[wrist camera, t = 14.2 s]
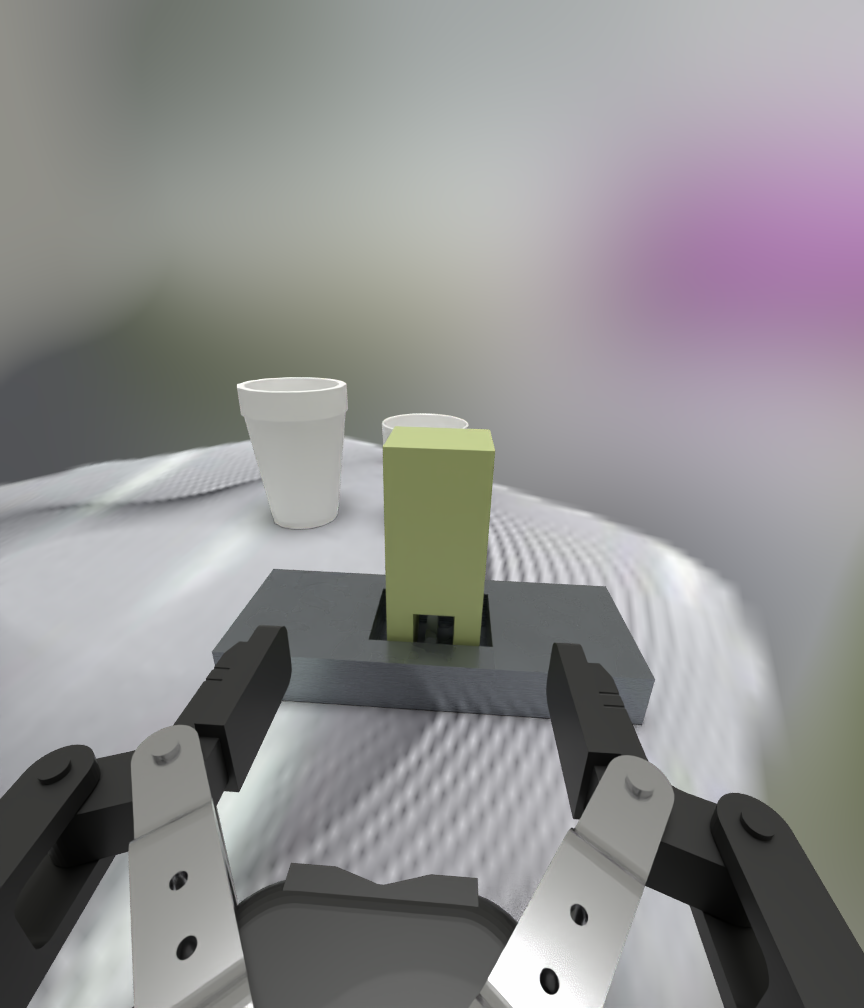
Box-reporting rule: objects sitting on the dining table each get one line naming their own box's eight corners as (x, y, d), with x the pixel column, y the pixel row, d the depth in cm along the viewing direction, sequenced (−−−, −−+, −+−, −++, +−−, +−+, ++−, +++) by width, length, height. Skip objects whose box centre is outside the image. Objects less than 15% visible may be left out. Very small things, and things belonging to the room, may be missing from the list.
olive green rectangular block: (387, 671, 25) (382, 446, 20) (397, 625, 29) (395, 426, 23) (476, 676, 25) (495, 450, 20) (474, 629, 28) (489, 429, 23)
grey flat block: (221, 696, 24) (211, 651, 22) (278, 605, 31) (273, 568, 30) (642, 724, 23) (654, 679, 21) (597, 624, 30) (605, 586, 29)
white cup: (438, 547, 39) (442, 437, 35) (368, 526, 43) (364, 424, 39) (476, 516, 46) (482, 420, 42) (411, 500, 49) (411, 410, 45)
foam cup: (279, 495, 50) (264, 376, 44) (361, 499, 49) (355, 378, 44) (239, 534, 41) (215, 390, 36) (338, 539, 40) (328, 394, 35)
